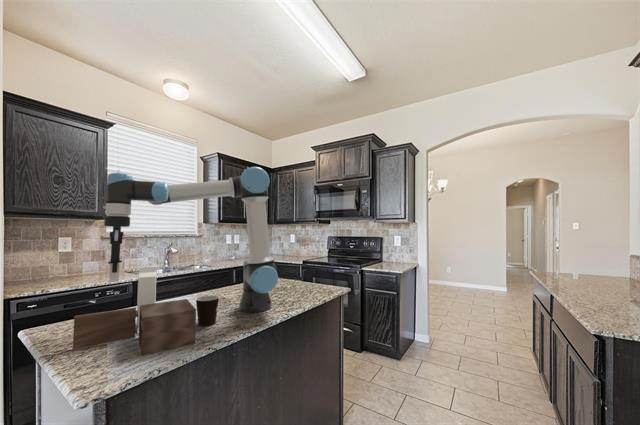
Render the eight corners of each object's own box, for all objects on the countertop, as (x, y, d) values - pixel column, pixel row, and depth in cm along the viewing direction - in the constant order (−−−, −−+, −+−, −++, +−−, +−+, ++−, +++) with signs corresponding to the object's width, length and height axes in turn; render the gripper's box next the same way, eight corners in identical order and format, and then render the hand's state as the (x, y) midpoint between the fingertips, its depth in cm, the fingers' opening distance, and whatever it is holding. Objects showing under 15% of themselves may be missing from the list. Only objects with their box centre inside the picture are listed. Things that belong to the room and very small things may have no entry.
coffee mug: (210, 328, 104) (210, 301, 104) (190, 326, 105) (191, 300, 106) (226, 318, 115) (227, 294, 116) (208, 317, 117) (209, 293, 117)
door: (137, 337, 94) (138, 307, 94) (72, 349, 84) (74, 316, 85) (137, 335, 96) (138, 306, 96) (73, 347, 86) (75, 314, 87)
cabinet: (185, 328, 103) (186, 298, 104) (195, 343, 89) (196, 309, 90) (138, 337, 95) (139, 305, 95) (140, 355, 81) (142, 318, 81)
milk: (137, 322, 110) (139, 267, 112) (155, 319, 113) (156, 266, 115) (136, 326, 105) (138, 269, 107) (154, 324, 108) (156, 268, 110)
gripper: (105, 216, 102) (101, 279, 100) (103, 214, 91) (99, 285, 90) (130, 216, 106) (126, 277, 105) (130, 215, 96) (126, 283, 94)
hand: (114, 281), depth 97 cm, fingers closed
